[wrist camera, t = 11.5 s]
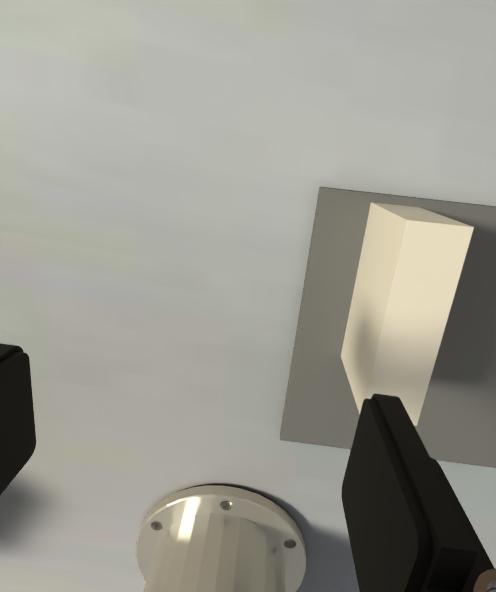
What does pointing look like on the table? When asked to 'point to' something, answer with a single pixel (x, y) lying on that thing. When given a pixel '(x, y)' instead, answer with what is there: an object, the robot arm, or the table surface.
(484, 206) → the mat
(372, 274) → the card box
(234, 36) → the table surface
